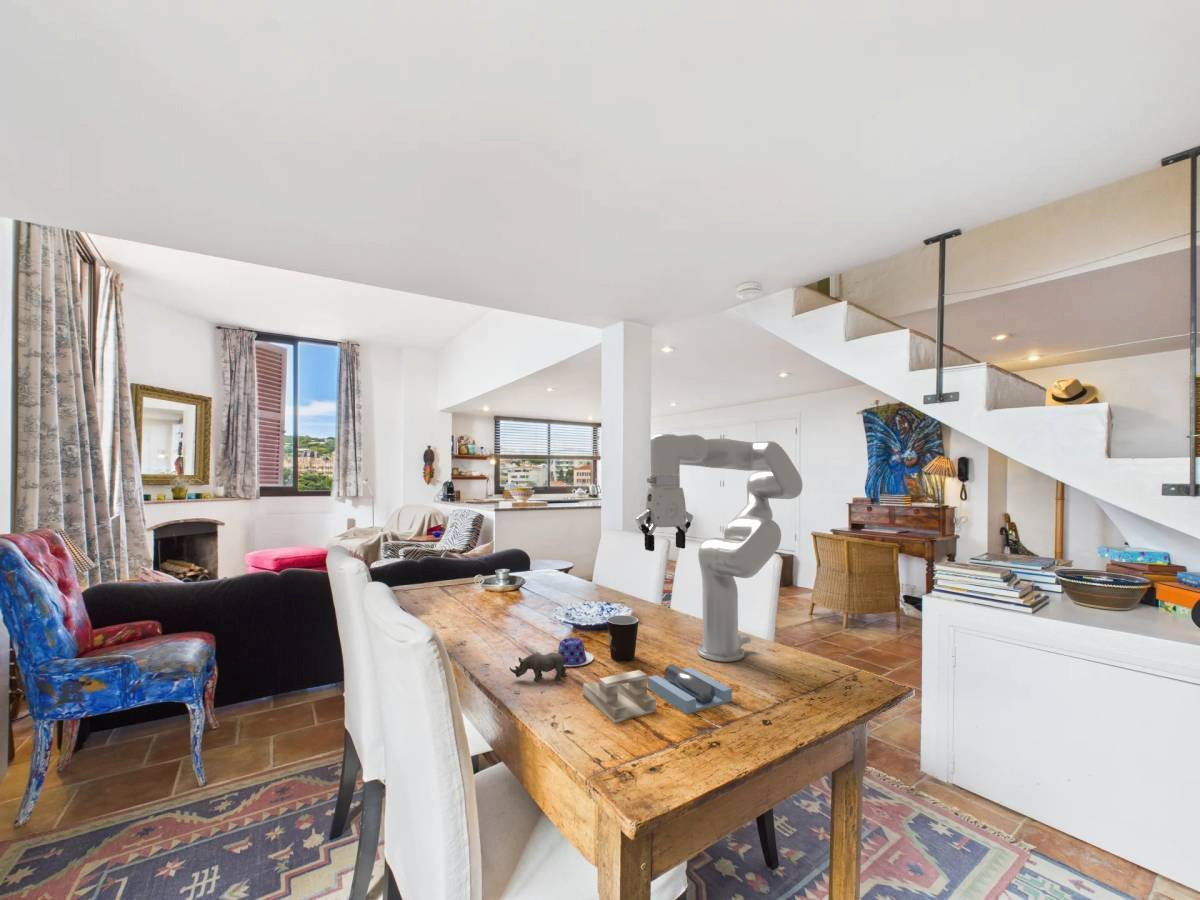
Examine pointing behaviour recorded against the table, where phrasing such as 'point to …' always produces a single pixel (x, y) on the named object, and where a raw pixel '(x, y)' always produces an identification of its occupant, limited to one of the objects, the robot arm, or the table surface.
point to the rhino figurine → (541, 665)
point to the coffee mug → (622, 637)
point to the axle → (689, 683)
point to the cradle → (684, 699)
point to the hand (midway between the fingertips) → (665, 549)
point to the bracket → (621, 695)
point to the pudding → (574, 652)
